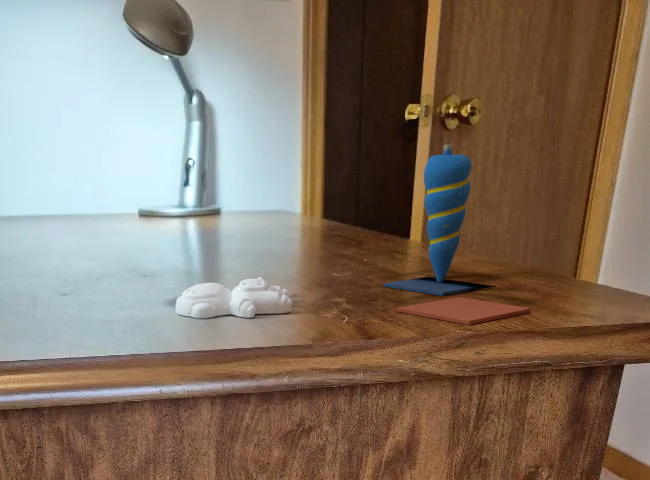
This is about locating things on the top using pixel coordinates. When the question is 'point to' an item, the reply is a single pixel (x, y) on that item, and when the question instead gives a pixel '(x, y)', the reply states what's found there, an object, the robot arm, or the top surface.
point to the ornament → (445, 206)
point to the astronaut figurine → (234, 300)
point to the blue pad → (436, 286)
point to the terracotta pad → (464, 310)
